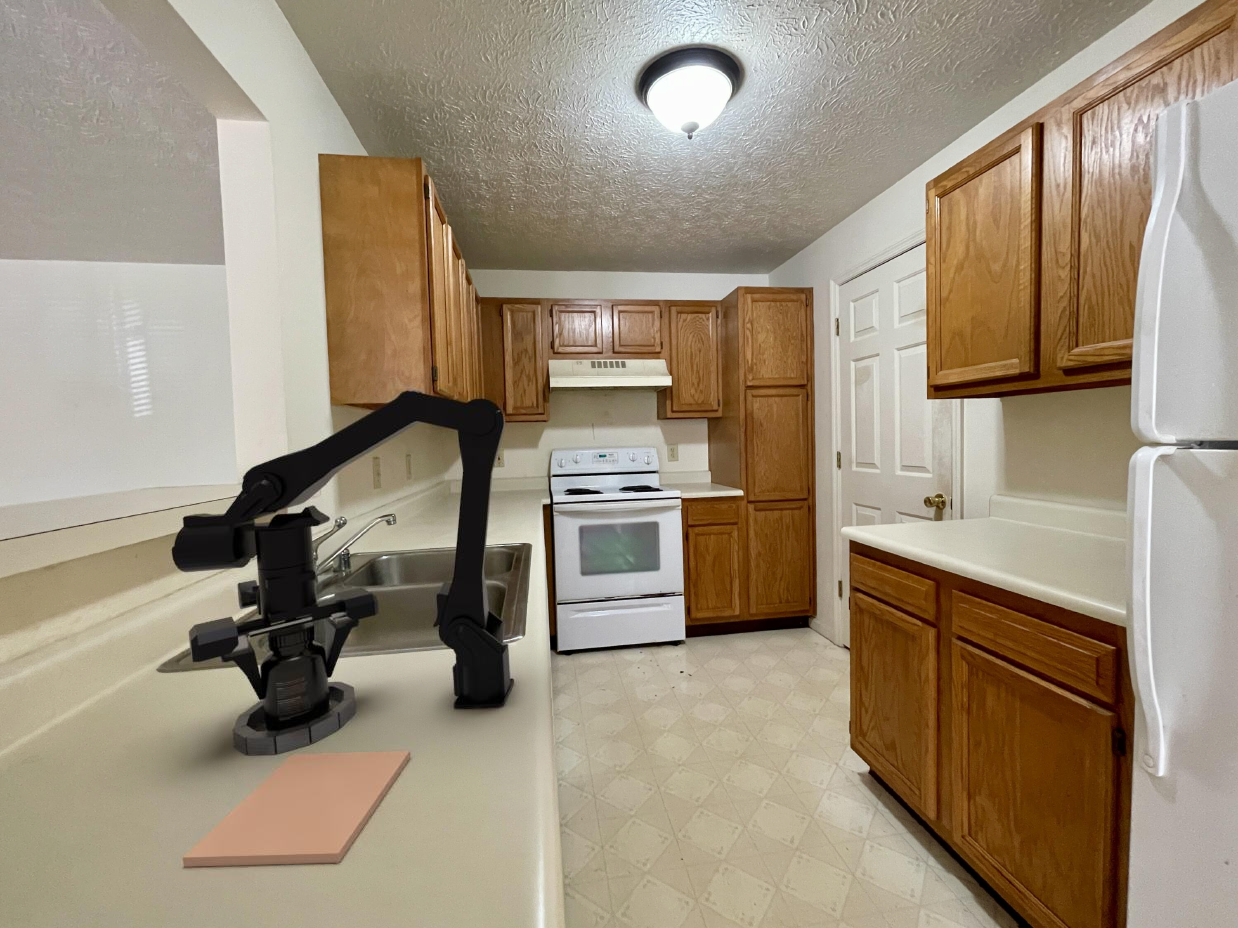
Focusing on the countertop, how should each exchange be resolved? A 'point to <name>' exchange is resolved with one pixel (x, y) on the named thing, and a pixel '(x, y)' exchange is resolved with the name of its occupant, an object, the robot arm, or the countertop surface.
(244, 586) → the robot arm
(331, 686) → the collar
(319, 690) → the supplement bottle
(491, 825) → the countertop surface
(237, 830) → the tile
